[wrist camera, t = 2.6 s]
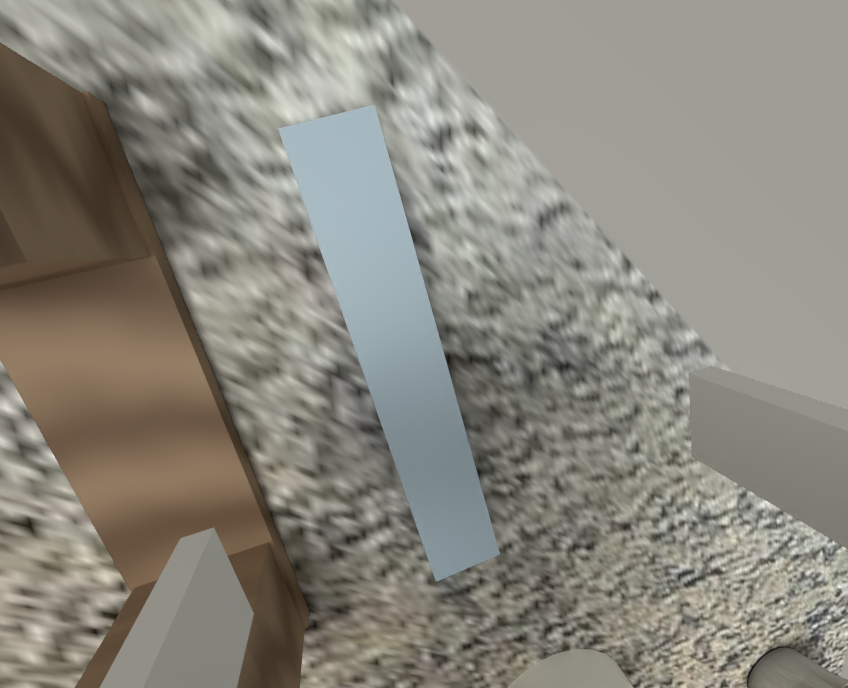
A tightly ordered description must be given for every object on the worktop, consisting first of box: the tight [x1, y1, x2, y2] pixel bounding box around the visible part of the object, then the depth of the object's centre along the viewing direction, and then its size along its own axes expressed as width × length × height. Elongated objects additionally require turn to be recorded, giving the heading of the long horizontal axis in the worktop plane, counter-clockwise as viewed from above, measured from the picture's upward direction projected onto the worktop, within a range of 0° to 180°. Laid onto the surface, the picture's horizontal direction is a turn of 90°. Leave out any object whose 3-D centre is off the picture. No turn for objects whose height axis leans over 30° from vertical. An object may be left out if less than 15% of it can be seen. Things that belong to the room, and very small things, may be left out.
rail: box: [278, 105, 500, 582], centre depth 22 cm, size 24×4×5 cm, turn 16°
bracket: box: [0, 43, 309, 688], centre depth 15 cm, size 31×8×13 cm, turn 13°
